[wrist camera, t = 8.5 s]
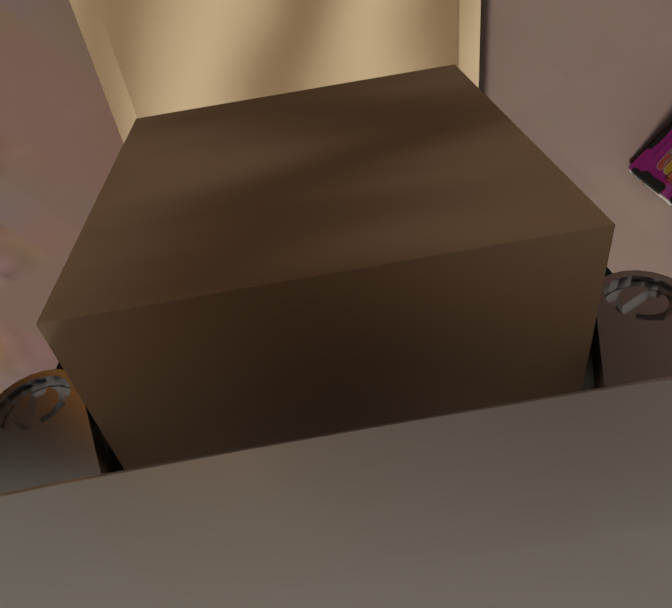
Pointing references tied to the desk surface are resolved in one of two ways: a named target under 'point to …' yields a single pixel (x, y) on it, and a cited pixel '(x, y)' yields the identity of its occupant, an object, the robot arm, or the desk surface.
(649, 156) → the candy bar box
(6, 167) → the desk surface
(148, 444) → the cube
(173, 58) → the board
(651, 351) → the robot arm
